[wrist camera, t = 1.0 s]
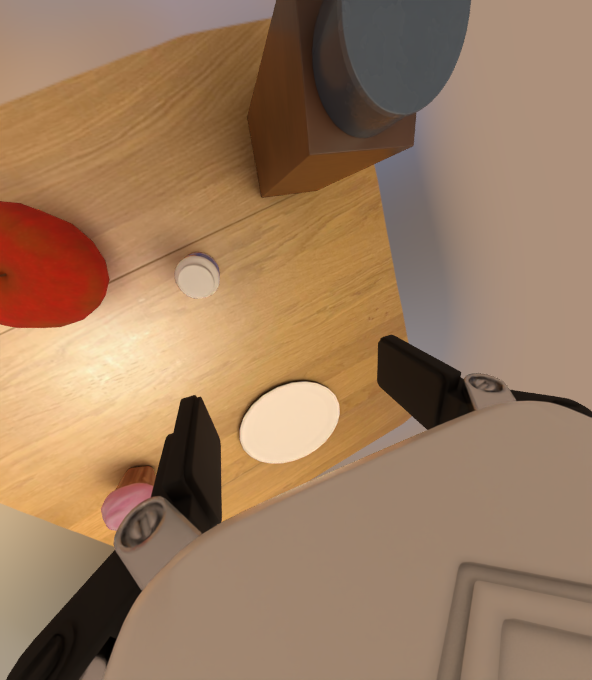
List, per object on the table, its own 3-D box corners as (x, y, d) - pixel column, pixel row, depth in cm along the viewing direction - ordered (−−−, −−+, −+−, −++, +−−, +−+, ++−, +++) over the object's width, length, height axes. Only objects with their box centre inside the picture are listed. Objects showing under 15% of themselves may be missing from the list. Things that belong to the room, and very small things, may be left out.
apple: (2, 282, 28) (-162, 317, 16) (17, 186, 25) (-167, 140, 13) (117, 318, 34) (61, 364, 21) (141, 243, 31) (92, 247, 19)
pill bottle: (194, 244, 33) (186, 246, 24) (226, 267, 35) (229, 277, 27) (174, 274, 34) (160, 286, 25) (207, 294, 36) (204, 312, 28)
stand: (247, 116, 29) (290, -61, 12) (310, 113, 31) (429, -42, 14) (261, 197, 33) (309, 155, 16) (316, 190, 35) (413, 145, 18)
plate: (215, 442, 49) (215, 447, 48) (289, 360, 46) (291, 362, 45) (293, 469, 61) (294, 474, 60) (355, 406, 59) (357, 409, 58)
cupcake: (112, 462, 43) (86, 518, 35) (162, 453, 46) (150, 503, 37) (122, 491, 47) (100, 549, 38) (168, 481, 50) (158, 533, 41)
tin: (302, -41, 12) (337, -152, 9) (420, -27, 14) (488, -116, 10) (316, 143, 16) (344, 117, 12) (408, 136, 17) (456, 111, 14)
